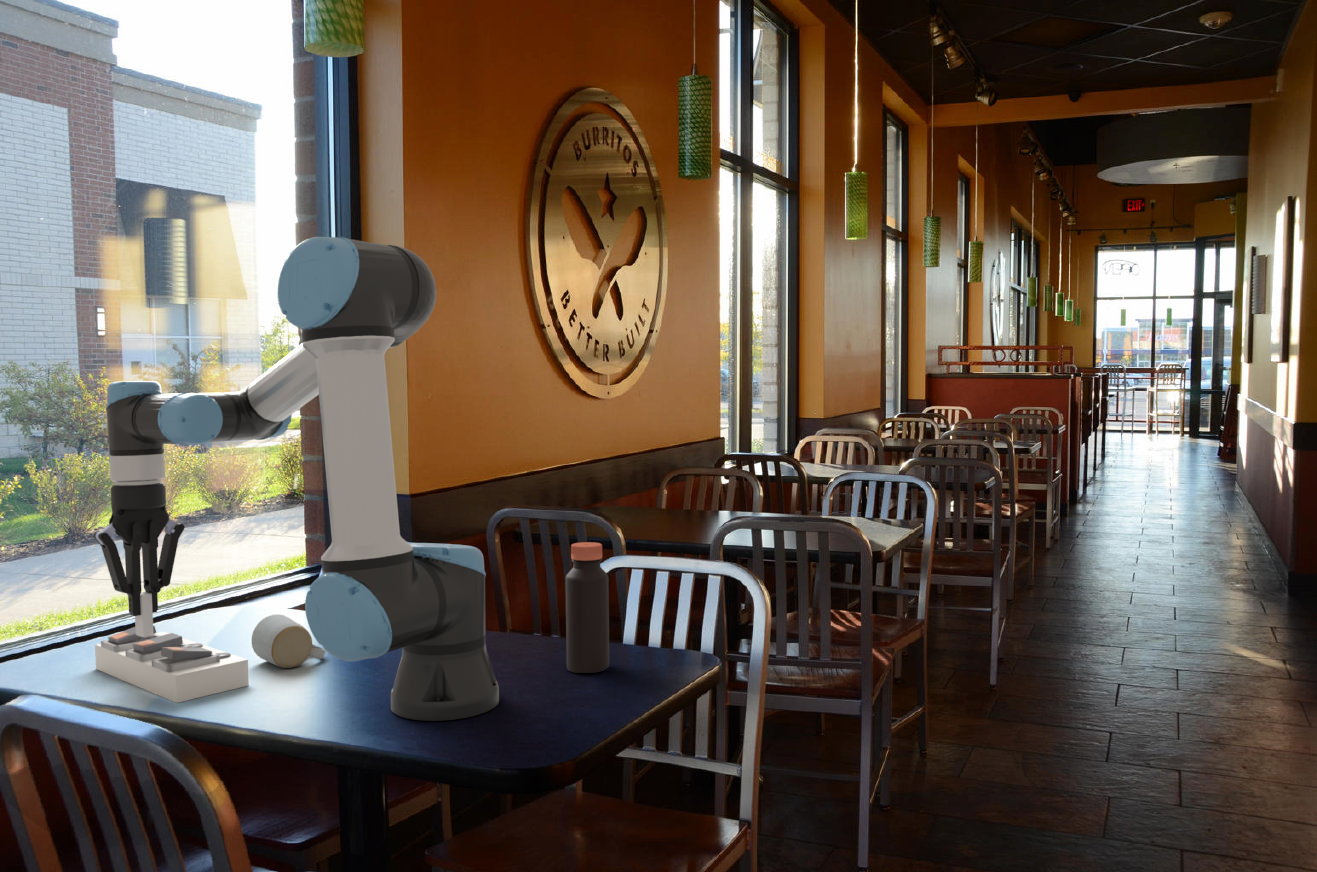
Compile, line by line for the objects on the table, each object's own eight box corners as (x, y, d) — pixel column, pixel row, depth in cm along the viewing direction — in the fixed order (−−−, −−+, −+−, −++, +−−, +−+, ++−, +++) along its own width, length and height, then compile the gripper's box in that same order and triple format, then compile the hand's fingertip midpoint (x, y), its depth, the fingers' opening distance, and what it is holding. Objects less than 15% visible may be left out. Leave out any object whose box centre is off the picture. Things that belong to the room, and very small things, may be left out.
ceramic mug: (272, 673, 167) (272, 625, 166) (250, 663, 173) (250, 617, 172) (334, 662, 174) (334, 616, 174) (312, 652, 180) (311, 608, 180)
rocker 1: (156, 632, 171) (154, 625, 170) (119, 647, 166) (117, 640, 166) (146, 629, 173) (144, 622, 173) (109, 644, 169) (107, 636, 168)
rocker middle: (182, 643, 165) (181, 635, 165) (144, 655, 161) (143, 646, 160) (172, 640, 167) (171, 632, 167) (134, 651, 163) (132, 643, 163)
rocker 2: (210, 659, 159) (212, 650, 159) (171, 659, 155) (173, 650, 155) (199, 655, 161) (201, 646, 162) (160, 655, 157) (162, 646, 157)
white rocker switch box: (248, 685, 161) (247, 653, 160) (176, 702, 152) (175, 669, 152) (164, 654, 179) (163, 626, 178) (96, 668, 170) (94, 638, 170)
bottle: (608, 674, 165) (607, 547, 164) (565, 675, 165) (563, 548, 164) (610, 662, 172) (608, 540, 170) (568, 663, 172) (566, 541, 170)
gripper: (169, 477, 168) (175, 623, 169) (82, 484, 158) (89, 640, 159) (191, 479, 163) (197, 630, 164) (103, 487, 153) (110, 647, 155)
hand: (144, 635), depth 162 cm, fingers closed
